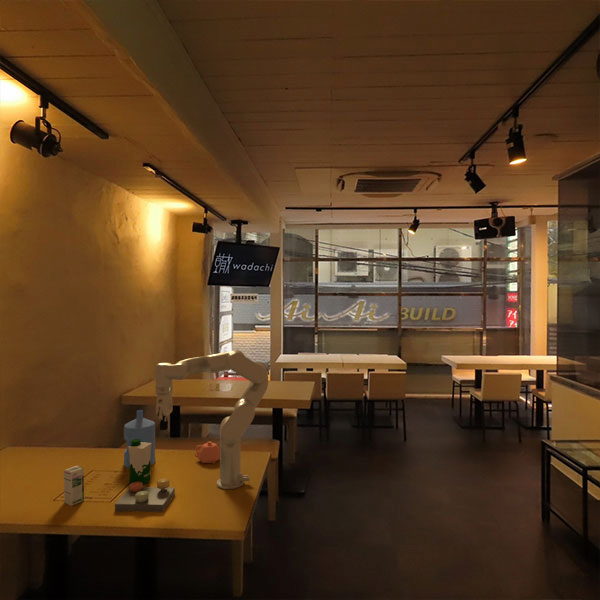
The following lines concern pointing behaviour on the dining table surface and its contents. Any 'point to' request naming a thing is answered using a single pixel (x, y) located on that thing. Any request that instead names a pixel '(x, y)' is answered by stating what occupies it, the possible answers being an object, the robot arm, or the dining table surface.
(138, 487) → the red rounded lump
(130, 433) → the water jug
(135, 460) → the milk carton
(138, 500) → the pale green ball
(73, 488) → the syrup box
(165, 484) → the tan rounded piece
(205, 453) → the sugar bowl
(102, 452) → the dining table surface
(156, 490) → the plate
